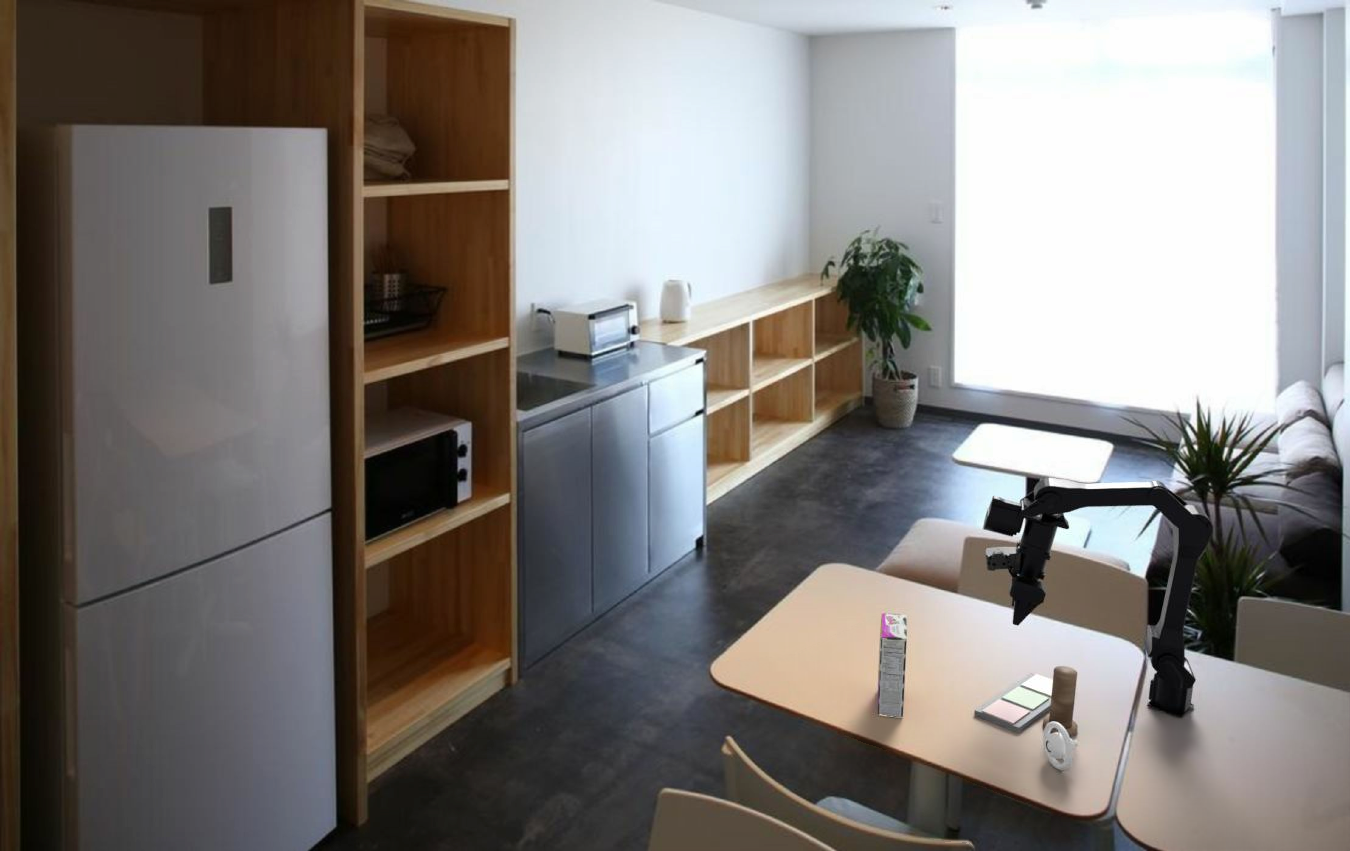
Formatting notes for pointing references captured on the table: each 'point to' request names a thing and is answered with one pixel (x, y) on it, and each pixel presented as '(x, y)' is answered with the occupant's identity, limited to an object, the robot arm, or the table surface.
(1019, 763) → the table surface
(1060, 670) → the brown wooden peg
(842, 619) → the table surface
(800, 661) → the table surface
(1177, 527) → the robot arm
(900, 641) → the candy bar box
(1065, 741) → the ring around a ball
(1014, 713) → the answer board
